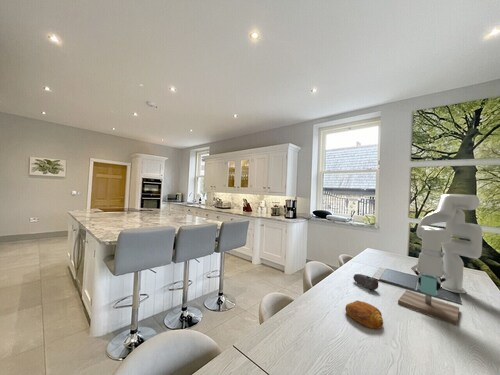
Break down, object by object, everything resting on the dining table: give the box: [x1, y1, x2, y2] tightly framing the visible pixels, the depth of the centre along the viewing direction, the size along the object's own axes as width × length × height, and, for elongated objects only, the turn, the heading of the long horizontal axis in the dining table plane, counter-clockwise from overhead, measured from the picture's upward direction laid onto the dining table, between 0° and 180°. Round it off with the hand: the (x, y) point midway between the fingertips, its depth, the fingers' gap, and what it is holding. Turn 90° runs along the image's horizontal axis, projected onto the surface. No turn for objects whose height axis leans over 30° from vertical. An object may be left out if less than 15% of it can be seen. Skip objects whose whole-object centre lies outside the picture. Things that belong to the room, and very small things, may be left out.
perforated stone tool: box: [353, 273, 379, 291], centre depth 130 cm, size 15×5×7 cm, turn 27°
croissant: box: [345, 300, 384, 330], centre depth 96 cm, size 14×16×8 cm
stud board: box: [397, 289, 460, 326], centre depth 109 cm, size 18×22×11 cm
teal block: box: [420, 273, 438, 297], centre depth 109 cm, size 6×6×8 cm
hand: (429, 286), depth 109 cm, fingers closed on teal block, 6 cm apart
